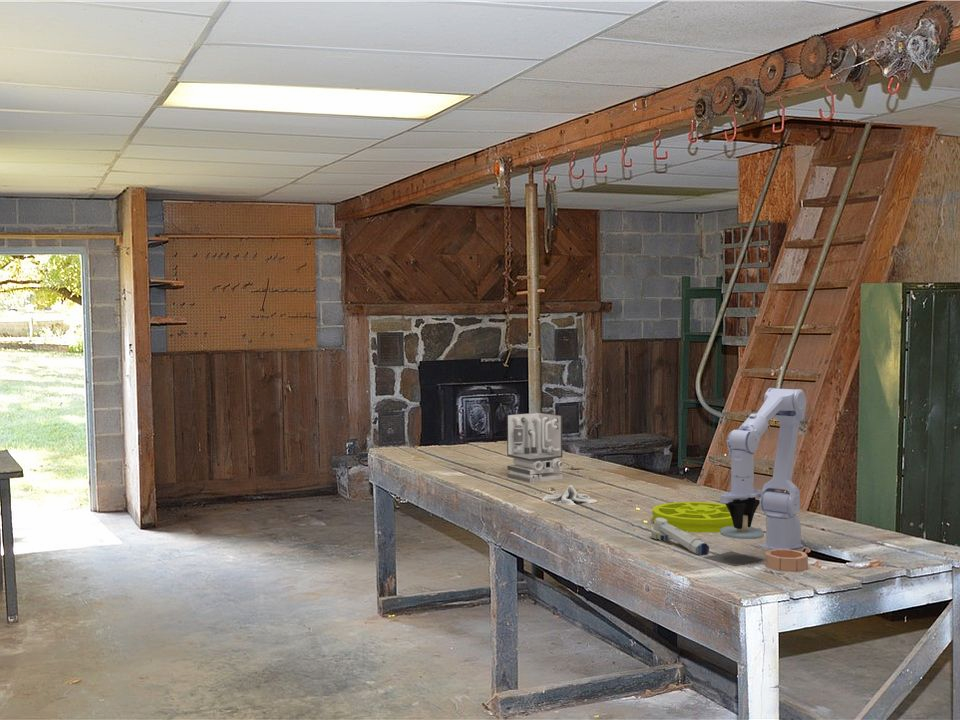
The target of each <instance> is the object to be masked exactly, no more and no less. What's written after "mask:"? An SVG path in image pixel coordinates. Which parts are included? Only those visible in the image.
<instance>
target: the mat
mask: <svg viewBox="0 0 960 720" xmlns="http://www.w3.org/2000/svg"><path fill="white" fill-rule="evenodd" d="M703 559H706V560H709V561H710V560H711V561H715V562H718V563H722V564H726V565H729V566H733V567H738V566H742V565H746V564H752V563H757V562H760V561H764V559H763V558H758V557H755V556H751V555H748V554H747V555H746V554H743V553H739V552H735V551H728V552H723V553H718V554H712V555H709V556H704V557H703Z"/></svg>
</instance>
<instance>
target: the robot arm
mask: <svg viewBox="0 0 960 720" xmlns="http://www.w3.org/2000/svg"><path fill="white" fill-rule="evenodd" d="M763 397H764V398H763V399H764V400H763V401H764V402H763V403H762V405H761V407H760V408H759V410H758V411H757V413H750V415H749V416H748V417H747V418H746V419H745V420H744V422H742V424H741V425H740V426H739V427H738V428H737V429H733V430H732V431H730V432H729V433H728V436H727V439H726V447H727V449H728V456H729V458H730V475H731V476H730V491H729V492H727V493H724V494H720V496H719V501H720V504H725V505H726V506H727V508H728V510H729V512H730V514H731V517H732V521H733V525H734V528H737V529H742V524H743V515H748V527H752V523H753V518H754V516H755V513H756V511H757V509H758V507H759V508H760V511H762V512H763V515H764V516H765V542H763V543H759V545H758V546H759V547H764V548H767V549H770V550H773V549H792V550H795V549H799V548H803V547H804V544H802V523H801V520H800V518H799V517H798V516H797V514H798V513H799V512H800V508H801V490H800V488H798V487H797V485H796V484H795V483H794V482H793V481H792V479H793V473H794V472H793V471H794V465H795V457H796V451H797V442H798V436H799V428H800V423H801V422H802V421H804V419H805V415H806V409H807V397H806V393H805V392H804V390H803V389H801V388H800V389H799V388H798V389H791V388H775V387H769V388H768V389H767V390H766V392H765V393H764V396H763ZM772 418H774V419H775V420H777V421H778V422H779V430H778V431H779V432H778V439H777V445H776V452H775V459H774V467H773V474H772V478H771V479H770V480H768V481H767V482H765V483H764V484H763V485H762V489H760V488H757V489H755V487H754V485H755V483H754V482H755V478H754V477H755V476H754V475H755V474H754V473H755V472H754V471H755V470H754V469H755V468H754V467H755V466H754V465H755V452H756V451H757V450H758V447H759V443H760V441H761V437H762V436H763V435H764V434H765V432H766V431H767V430H768V428H769V423H768V422H770V421H771V419H772ZM756 498H759V499H756Z"/></svg>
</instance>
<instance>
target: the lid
mask: <svg viewBox="0 0 960 720" xmlns="http://www.w3.org/2000/svg"><path fill="white" fill-rule="evenodd" d="M719 533H720V535H721V536H722V537H727V538H730V539H731V538H732V539H739V540H757V539H762V538H763V537H764V536H765V532H764V530H762V529H760V528H757V527H752V526H751V527H748V515H743V524H742V529H737V528H734V526H729V527H723V528H721V529H720V532H719Z"/></svg>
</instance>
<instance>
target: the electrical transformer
mask: <svg viewBox="0 0 960 720" xmlns="http://www.w3.org/2000/svg"><path fill="white" fill-rule="evenodd" d="M506 438H507V439H506V443H507V444H506V446H507V447H506V448H507V449H506V453H507V454H506V457H510V458H513V459H512V463H513V464H509V465H507V469H506V470H508V471H509V472H508V473H507V478H508V479H514V480H517V481H522V482H525V483H529V484H530V483H539V482H547V481H555V480H556V481H557V480H563V474H560V473H555V472H563V462H562V461H561V460H560V458H563V415H558V414H551V413H545V412H533V413H532V412H531V413H530V412H529V413H518V414H516V413H515V414H507V415H506Z"/></svg>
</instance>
